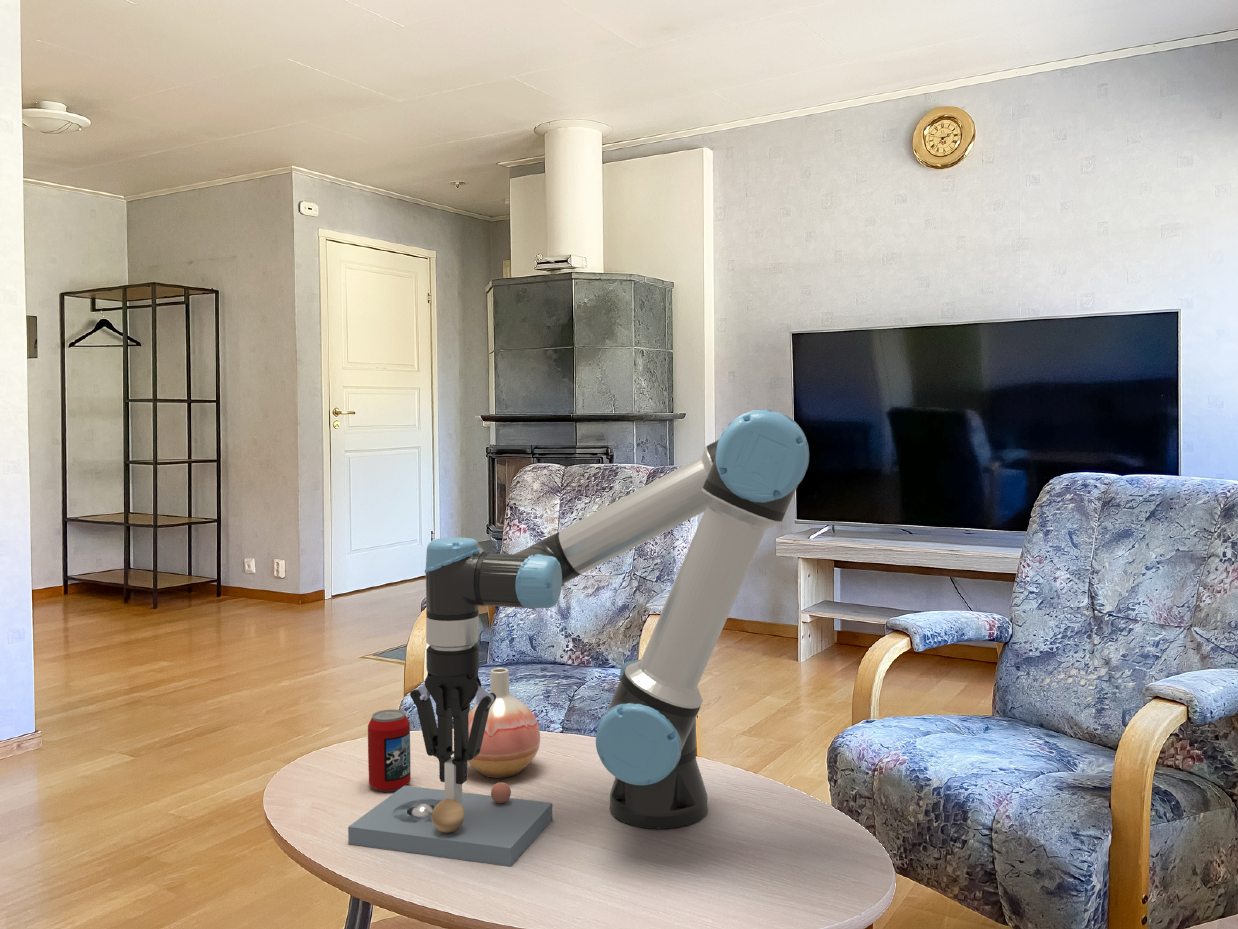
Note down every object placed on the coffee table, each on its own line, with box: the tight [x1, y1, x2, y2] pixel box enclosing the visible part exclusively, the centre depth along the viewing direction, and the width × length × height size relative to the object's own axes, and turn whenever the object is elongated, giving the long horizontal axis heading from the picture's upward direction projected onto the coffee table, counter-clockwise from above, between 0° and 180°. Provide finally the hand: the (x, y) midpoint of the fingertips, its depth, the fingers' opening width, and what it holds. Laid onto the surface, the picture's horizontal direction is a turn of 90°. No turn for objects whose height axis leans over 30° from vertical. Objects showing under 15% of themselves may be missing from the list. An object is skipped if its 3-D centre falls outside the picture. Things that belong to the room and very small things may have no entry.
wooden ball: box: [432, 799, 464, 833], centre depth 135 cm, size 4×4×4 cm
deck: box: [347, 785, 553, 867], centre depth 141 cm, size 25×16×2 cm, turn 73°
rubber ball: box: [490, 781, 512, 803], centre depth 146 cm, size 3×3×3 cm
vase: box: [467, 667, 541, 779], centre depth 165 cm, size 14×14×18 cm
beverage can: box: [367, 709, 412, 793], centre depth 159 cm, size 7×7×12 cm
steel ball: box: [411, 804, 433, 817], centre depth 143 cm, size 4×4×4 cm
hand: (453, 803), depth 141 cm, fingers closed
